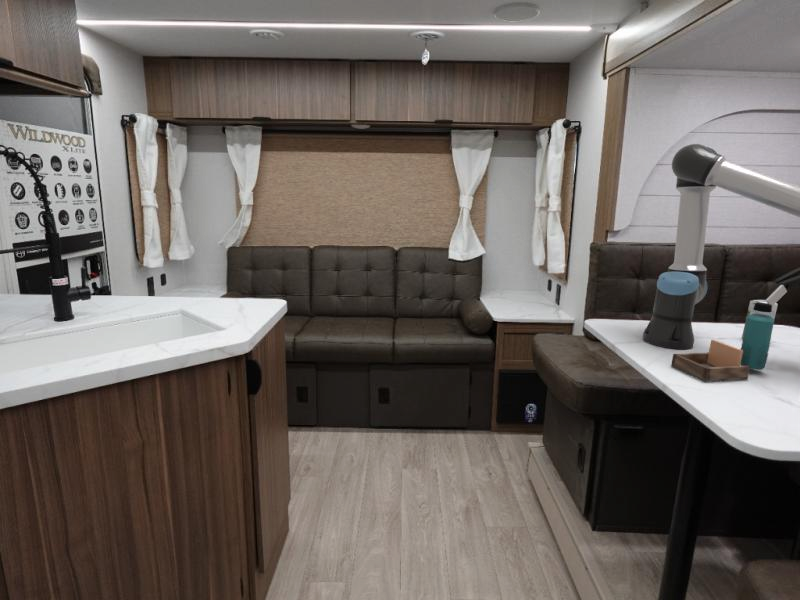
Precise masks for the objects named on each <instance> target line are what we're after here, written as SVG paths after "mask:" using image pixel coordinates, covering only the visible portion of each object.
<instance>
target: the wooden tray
mask: <svg viewBox="0 0 800 600" xmlns="http://www.w3.org/2000/svg"><path fill="white" fill-rule="evenodd" d="M708 354H709V351H708V352H689V353H673V354H672V359H671V364H670V367H671V368H674V369H676V370H678V371H679V372H682V373H684V374H686V375H689V376H690V377H692V376H693V378H694V377H695V378H694V379H697V380H699V381H701V382H704V383H716V382H717V383H719V382H720V381H721V382H736V381H748V380H749V379H748V378H749V375H750V370H751V369H750V366H747V365H746V366H741V365H740V366H727V367H715V366H713V365H711V364H708V363H707V359H708ZM721 382H720V383H721Z"/></svg>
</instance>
